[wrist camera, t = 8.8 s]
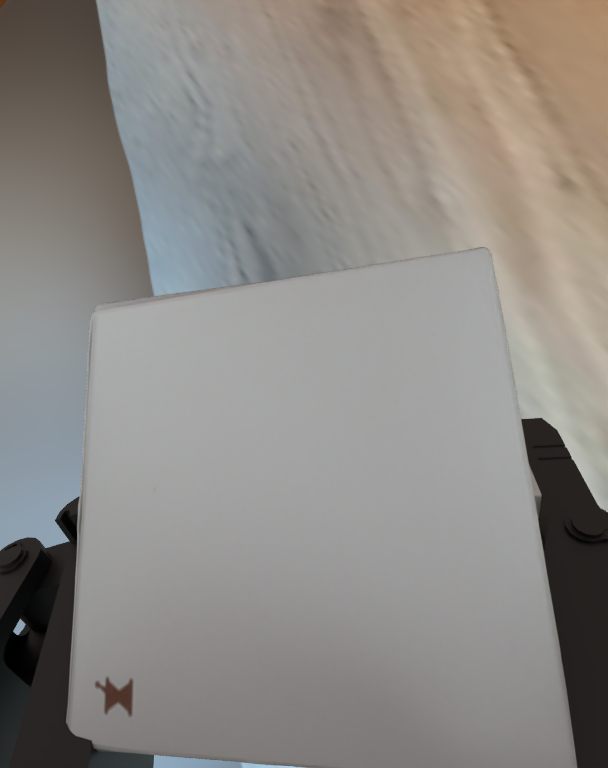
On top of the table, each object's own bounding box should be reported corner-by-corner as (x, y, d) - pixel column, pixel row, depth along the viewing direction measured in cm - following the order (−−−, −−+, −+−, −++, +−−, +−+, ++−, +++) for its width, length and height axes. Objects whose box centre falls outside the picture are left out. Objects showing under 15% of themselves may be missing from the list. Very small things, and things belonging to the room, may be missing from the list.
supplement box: (463, 577, 17) (601, 831, 5) (279, 577, 18) (38, 767, 6) (441, 391, 18) (505, 232, 6) (274, 405, 20) (74, 299, 8)
